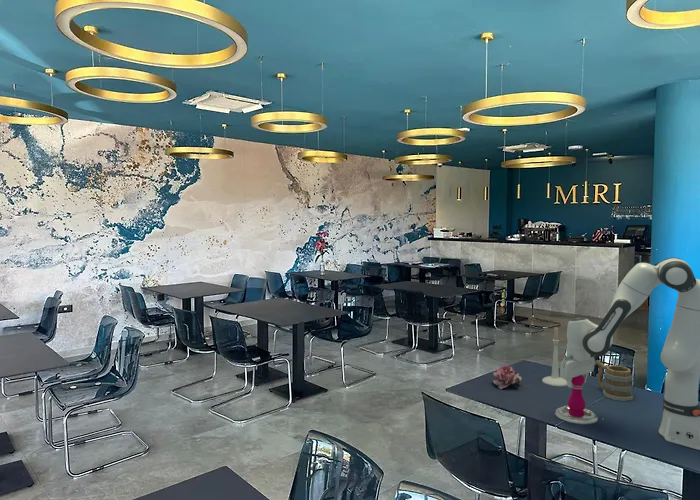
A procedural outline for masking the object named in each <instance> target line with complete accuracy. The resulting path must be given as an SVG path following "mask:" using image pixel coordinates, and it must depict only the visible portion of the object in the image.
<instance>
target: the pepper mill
mask: <svg viewBox="0 0 700 500" xmlns="http://www.w3.org/2000/svg"><path fill="white" fill-rule="evenodd" d="M571 381H572V383H573V387H571V394H570V396H569V398H568V400H567V406H569V408H570V409H569V414H570V415H572V416H575V417H583V416H584V411H583V410H584V409H586V401H585V399H584V397H583V389H584V384H585V383H584V382H585V379H584V376H583V375H580V376H577V377H573V378H572V380H571ZM583 383H584V384H583Z"/></svg>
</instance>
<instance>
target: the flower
mask: <svg viewBox="0 0 700 500" xmlns="http://www.w3.org/2000/svg"><path fill="white" fill-rule="evenodd" d="M515 373H516V370H515V368H513V366H511V365H510V364H509V365H508V364H507V365H502V366H499V368H498V369H497V370H496V371H493V376H494V377H495V378H494V379H492V381H493V384H495V386H498V389H499V388H500V390H502V389H504V388H507V387H509V386H510V385H514V384H515V383H516V385H515V388H517V387H518V385H519V384H520V383H521V381H523V378H522V376H520V373H516V374H515Z"/></svg>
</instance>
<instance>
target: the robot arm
mask: <svg viewBox="0 0 700 500" xmlns="http://www.w3.org/2000/svg"><path fill="white" fill-rule="evenodd" d="M661 284H663V285H665V286H666V287H668V288H670V289H672V290H675V291H676V292H677V300H676V303H675V309H674V313H673V318H672V321H671V325H670V327H669V330H668V333H667V336H666V339H665V341H664V345H663V347H662V350H661V353H660V362H661V363H662V365H664V367H666V369H667V372H666V376H665V379H664V397H663V398H662V400H663V401H662V412H663V413H662V419H661V423H660V425H659V429H658V433H659V434H660V435H661V436H662V437H663V438H664V440H665V441H666V442H669V443H672V444H677V445H680V446H684V447H686V448H690V449H695V450H697V451H700V404H699V386H700V385H699V384H700V279H698V278H696V277H695V274H694V272H693V270H692V268H691V266H690V264H689V263H688V262H686V261H685V259H684V260H683V259H682V258H679V257H675V256H674V257H668V258H665V259H663V260H661V261H659V262H657V263H654V264H651V263H648V262H638V263H636V264H635V265H634V266H633V267H632V268H631V269H630V270H629V271H628V272H627V274H626V275H625V277H623V278H622V280H621V281H620V284H619V285H618V287H617V289H616V290H615V293H614V295H613V299H612V301H611V304H610V307H609V309H608V311H607V313H606V314H605V315H604V317H603V318H602V319H601V320H600V321H601V322H600V323H599V324H596V323H594V322H592V321H590V319H588V318H587V317H581V316H580V317H573V318H572V319H570V320H569V321H568V322H567V329H566V338H567V344H566V356H565V357H564V358H563V360H562V361H561V362H560V368H559V377H561V378H563V379H565V380H566V381H567V385H566V386H567V387H568V388H571V389H572V387H573V383H572V381H571V380H572V378H573V377H577V376H580V375H583V376H584V379H585V382H584V383H583V385H584V384H586V383H587V378H588V376H589V373H590V374H591V373H593V372H594V370H595V364H594V363H595V361H596V359H595V357H603V356H604V355H606V354H607V353H608V352H609V351H610V349H611V346H612V345H613V343H614V339H615V338H614V335H615V333H616V331H617V330H618V328H619V327H620V325H621V324H622V323H623V322H624V321H625V319H626V318H627V317H628V316H630V315H631V314H632V313H633V312H634V311H636V310H637V309H639V307H641V305H642V304H643V303H644V302H645V301H646V300H647V298H649V296H650V294H651V293H652V291H653V290H654V289H656V287H657V286H659V285H661Z"/></svg>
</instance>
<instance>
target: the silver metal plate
mask: <svg viewBox="0 0 700 500" xmlns="http://www.w3.org/2000/svg"><path fill="white" fill-rule="evenodd" d="M569 409H570V408H569V406H568V405H564V406H560V407H557V408H556V409H555V410H554V412H555V413H554V415H555V416H556V417H557V419H559V420H562V421H564V422H567V423H570V424H574V425H575V424H576V425H584V426H585V425H594V424H596V423H598V421H599V419H598V418H599V417H598V415H597V414H596V413H594V412H593V411H592V410H590V409H587V408H585V409H584V410H583V411H584V416H583V417H575V416H572V415H570V414H569Z"/></svg>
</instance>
